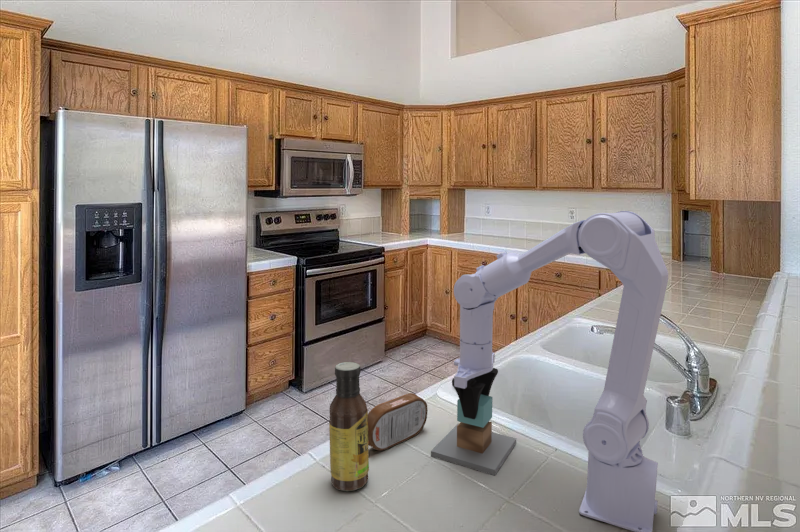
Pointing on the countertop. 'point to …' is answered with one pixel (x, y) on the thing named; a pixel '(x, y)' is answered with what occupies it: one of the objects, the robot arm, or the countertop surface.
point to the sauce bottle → (348, 431)
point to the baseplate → (472, 459)
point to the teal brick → (482, 414)
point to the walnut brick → (474, 437)
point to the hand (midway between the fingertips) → (475, 411)
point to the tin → (396, 421)
